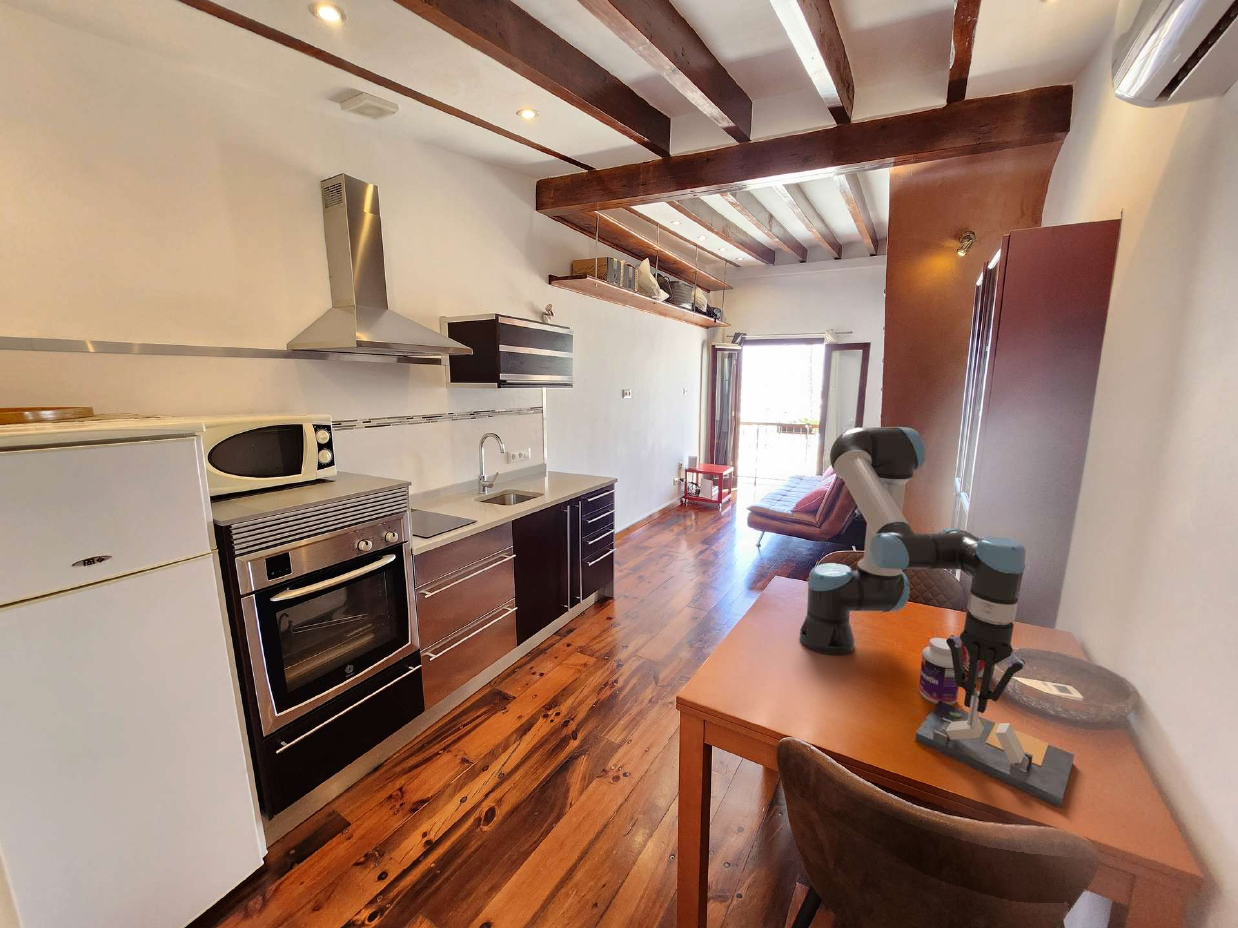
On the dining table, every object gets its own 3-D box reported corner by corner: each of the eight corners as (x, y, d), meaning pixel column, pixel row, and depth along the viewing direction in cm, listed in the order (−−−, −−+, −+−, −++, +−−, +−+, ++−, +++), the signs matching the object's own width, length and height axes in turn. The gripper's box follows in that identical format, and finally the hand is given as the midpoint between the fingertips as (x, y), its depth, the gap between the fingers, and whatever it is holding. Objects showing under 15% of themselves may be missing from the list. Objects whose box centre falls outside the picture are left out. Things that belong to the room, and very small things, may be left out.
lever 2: (1015, 775, 96) (994, 733, 98) (1020, 763, 99) (1000, 722, 101) (1026, 775, 95) (1005, 732, 97) (1031, 763, 98) (1010, 722, 100)
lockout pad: (985, 742, 105) (985, 741, 105) (995, 723, 111) (996, 722, 111) (1040, 766, 98) (1040, 765, 98) (1048, 744, 104) (1048, 743, 104)
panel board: (914, 740, 109) (916, 723, 108) (938, 708, 119) (940, 692, 119) (1060, 808, 91) (1063, 788, 90) (1072, 763, 102) (1075, 744, 101)
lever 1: (934, 732, 106) (973, 728, 101) (941, 722, 109) (979, 718, 104) (939, 740, 106) (978, 737, 100) (945, 731, 109) (984, 727, 103)
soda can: (994, 681, 130) (999, 638, 128) (964, 678, 131) (968, 635, 129) (981, 666, 137) (985, 625, 135) (952, 663, 138) (956, 622, 136)
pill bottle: (911, 688, 127) (915, 635, 125) (941, 686, 128) (946, 634, 125) (933, 708, 119) (939, 652, 117) (965, 706, 120) (971, 651, 117)
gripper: (946, 610, 100) (931, 714, 105) (1026, 635, 91) (1005, 749, 95) (958, 599, 105) (942, 699, 110) (1035, 622, 96) (1015, 731, 100)
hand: (972, 722), depth 102 cm, fingers closed
